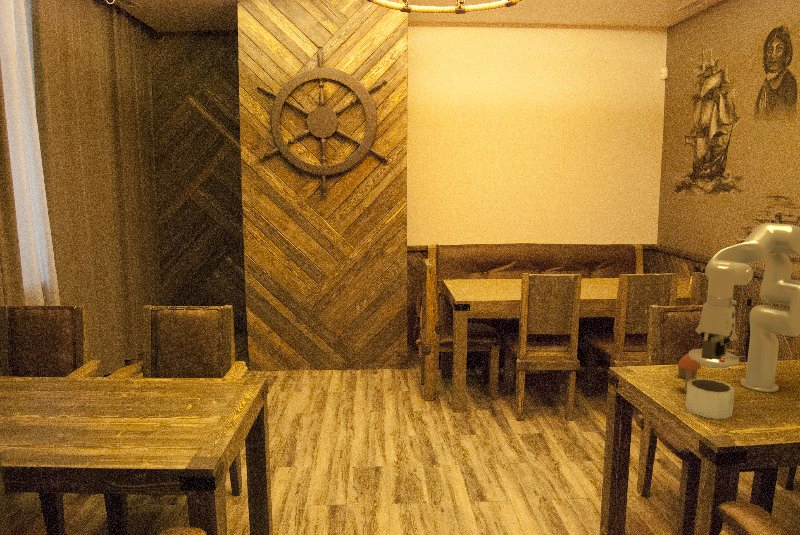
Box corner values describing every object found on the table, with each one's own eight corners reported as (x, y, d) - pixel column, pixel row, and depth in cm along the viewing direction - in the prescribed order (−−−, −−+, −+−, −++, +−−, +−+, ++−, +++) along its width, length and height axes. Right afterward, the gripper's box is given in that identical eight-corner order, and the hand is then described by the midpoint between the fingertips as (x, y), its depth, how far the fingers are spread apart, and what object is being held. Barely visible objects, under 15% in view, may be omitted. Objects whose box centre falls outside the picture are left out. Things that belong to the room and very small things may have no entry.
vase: (698, 381, 236) (700, 359, 234) (679, 380, 237) (681, 358, 236) (693, 375, 242) (695, 354, 241) (675, 374, 244) (677, 353, 242)
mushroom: (672, 386, 230) (676, 348, 227) (695, 388, 228) (699, 350, 225) (677, 394, 222) (681, 355, 219) (701, 396, 220) (705, 356, 218)
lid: (700, 353, 215) (702, 330, 214) (746, 364, 204) (748, 340, 202) (680, 361, 206) (682, 338, 204) (726, 374, 194) (729, 349, 193)
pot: (696, 399, 217) (699, 375, 216) (738, 411, 207) (741, 386, 205) (678, 409, 208) (680, 384, 207) (720, 422, 198) (723, 396, 196)
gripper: (750, 304, 197) (744, 358, 200) (699, 295, 210) (694, 346, 213) (740, 307, 192) (734, 362, 195) (689, 298, 205) (684, 350, 208)
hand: (713, 353), depth 204 cm, fingers closed on lid, 3 cm apart
